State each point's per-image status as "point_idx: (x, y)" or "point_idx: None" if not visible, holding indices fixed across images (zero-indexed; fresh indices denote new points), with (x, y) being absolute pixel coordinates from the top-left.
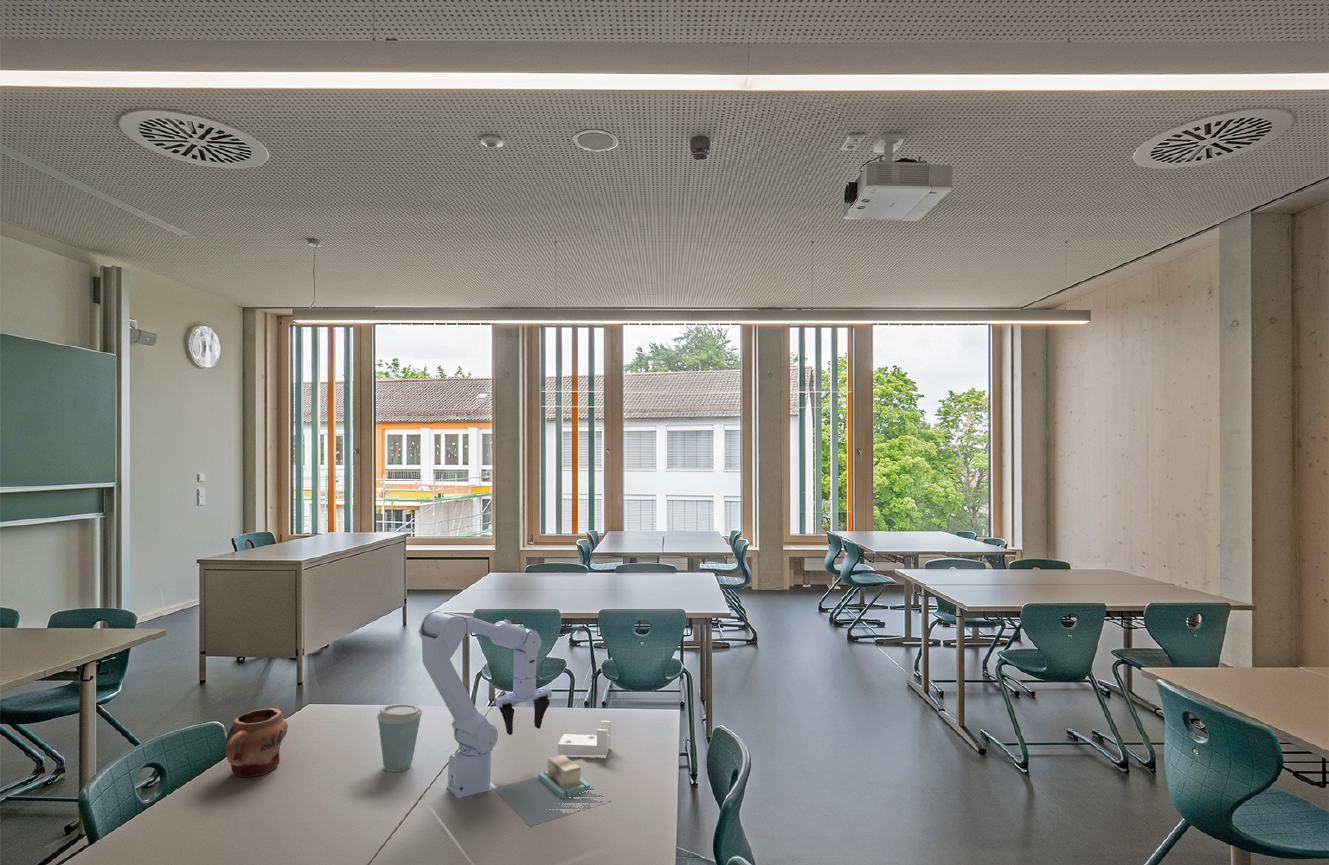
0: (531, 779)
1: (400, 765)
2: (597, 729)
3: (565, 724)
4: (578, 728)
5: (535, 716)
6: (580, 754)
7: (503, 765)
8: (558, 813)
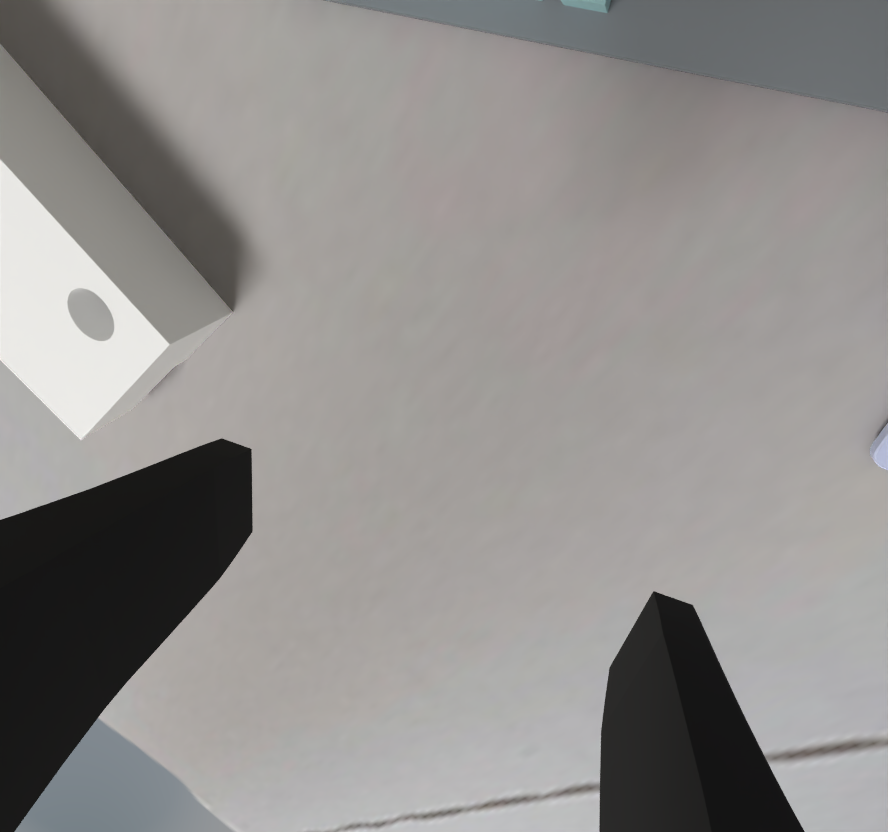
0: (677, 43)
1: None
2: None
3: None
4: (17, 493)
5: (150, 628)
6: (89, 171)
7: (587, 491)
8: None
